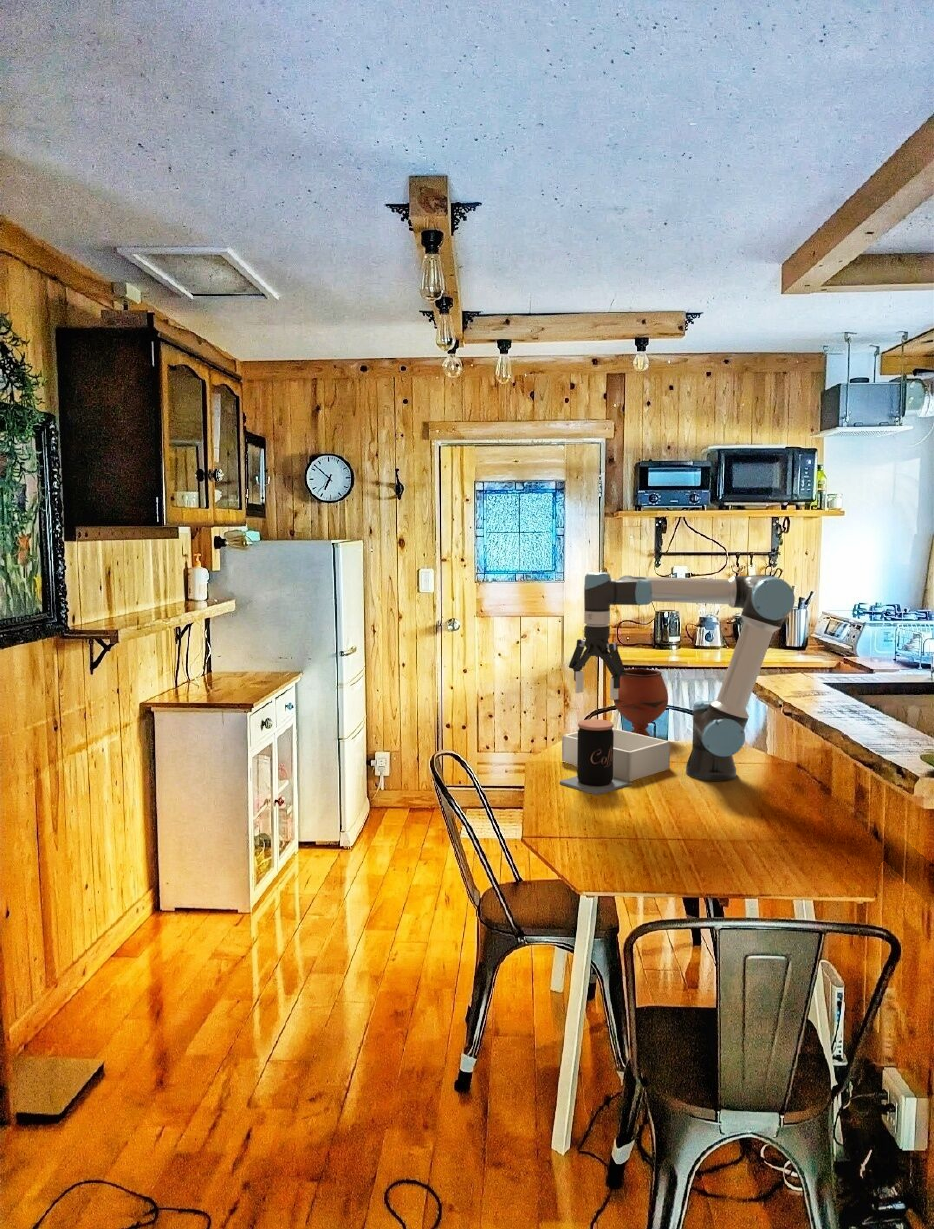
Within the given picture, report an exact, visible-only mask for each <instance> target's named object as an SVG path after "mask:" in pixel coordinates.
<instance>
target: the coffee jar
mask: <svg viewBox="0 0 934 1229" xmlns="http://www.w3.org/2000/svg"><path fill="white" fill-rule="evenodd" d="M614 725H615V724H614V722H612V721H610V720H605V719H596V718H593V719H592V718H591V719H582V720H579V721H578V722H577V726H578V730H577V732H578V744H577V766H576V773H577V774H576V776H577V778H578V780H579V781H580V783H581V784H584V785H587V786H606V785H609V784H610V783H611V781H612V780H613V778H614V777H613V745H614V732H613V730H612V728H614Z"/></svg>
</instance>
